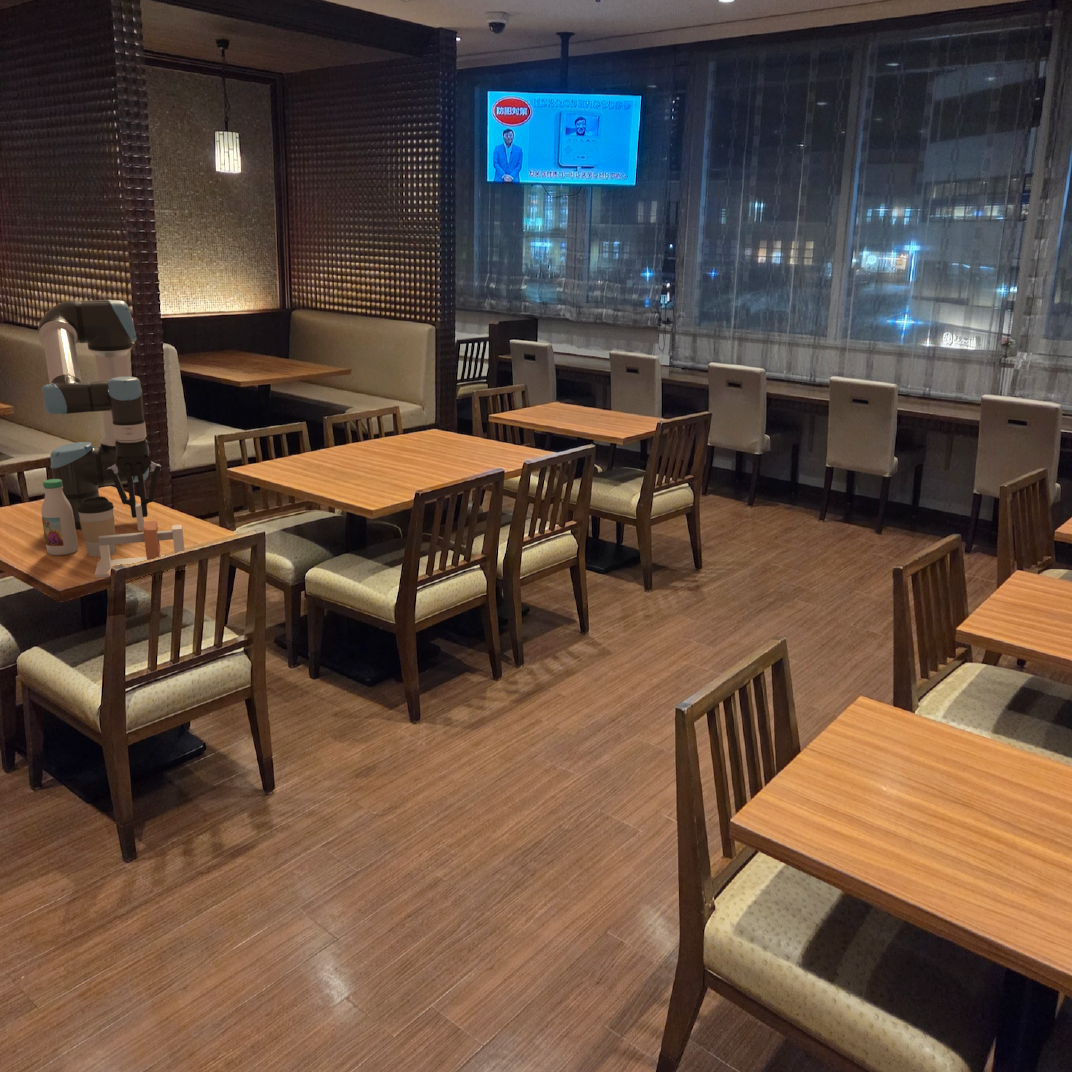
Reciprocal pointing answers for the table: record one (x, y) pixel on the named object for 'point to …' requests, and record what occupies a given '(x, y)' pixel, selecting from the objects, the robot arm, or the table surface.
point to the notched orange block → (151, 540)
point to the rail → (108, 562)
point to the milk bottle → (58, 520)
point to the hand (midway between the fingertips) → (141, 528)
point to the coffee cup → (96, 523)
